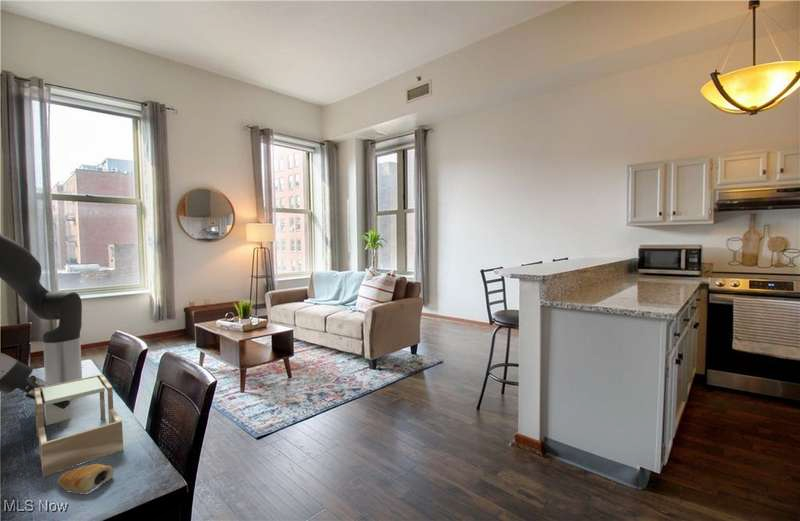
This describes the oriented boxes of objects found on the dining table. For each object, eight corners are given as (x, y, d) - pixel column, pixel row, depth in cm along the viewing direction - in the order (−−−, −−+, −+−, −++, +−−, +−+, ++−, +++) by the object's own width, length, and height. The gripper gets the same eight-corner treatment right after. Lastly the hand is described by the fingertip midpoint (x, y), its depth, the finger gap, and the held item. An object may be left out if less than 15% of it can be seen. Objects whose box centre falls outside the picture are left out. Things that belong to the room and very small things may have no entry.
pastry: (46, 493, 73) (46, 474, 73) (80, 472, 80) (79, 455, 80) (88, 497, 72) (87, 478, 72) (118, 476, 79) (118, 458, 79)
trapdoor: (42, 392, 94) (42, 388, 94) (97, 380, 102) (97, 376, 102) (45, 405, 87) (45, 401, 87) (104, 391, 95) (104, 387, 95)
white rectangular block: (45, 419, 104) (43, 391, 104) (68, 413, 108) (67, 386, 107) (46, 425, 101) (44, 396, 100) (70, 418, 104) (69, 391, 104)
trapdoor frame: (36, 436, 95) (34, 388, 94) (104, 417, 105) (102, 374, 104) (43, 476, 78) (40, 419, 78) (123, 449, 88) (121, 398, 88)
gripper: (16, 365, 93) (81, 397, 102) (15, 354, 103) (74, 384, 112) (-15, 392, 89) (56, 423, 99) (-13, 378, 99) (51, 407, 108)
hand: (65, 402), depth 105 cm, fingers closed on white rectangular block, 5 cm apart
